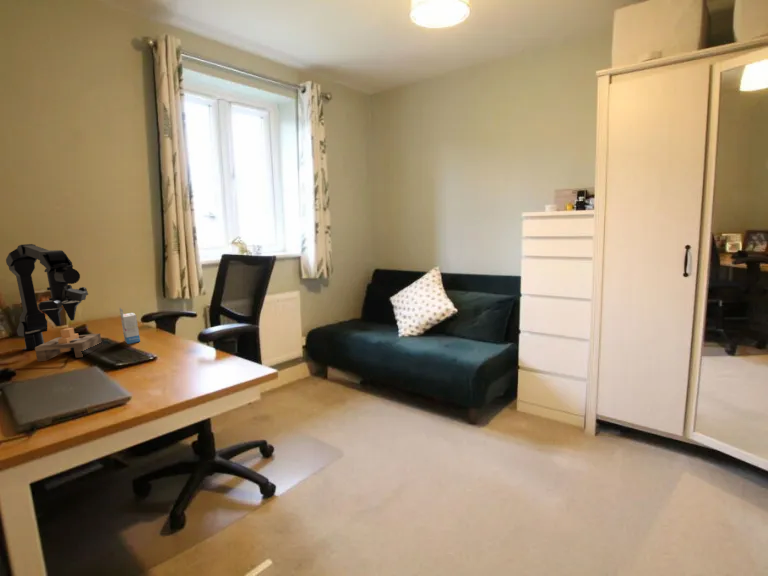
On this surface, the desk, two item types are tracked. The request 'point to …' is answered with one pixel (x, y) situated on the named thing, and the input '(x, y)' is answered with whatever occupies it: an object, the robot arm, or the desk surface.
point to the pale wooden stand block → (67, 337)
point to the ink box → (130, 327)
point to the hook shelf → (66, 346)
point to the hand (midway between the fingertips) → (65, 323)
